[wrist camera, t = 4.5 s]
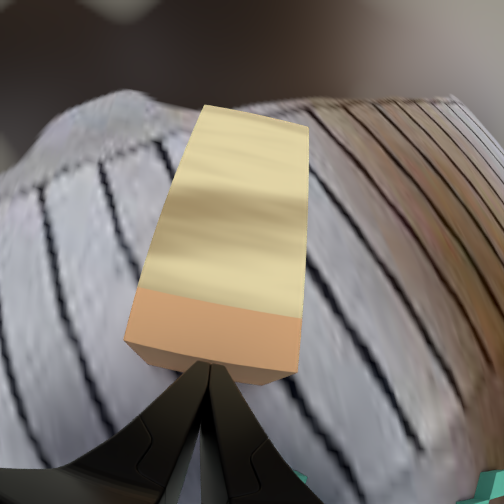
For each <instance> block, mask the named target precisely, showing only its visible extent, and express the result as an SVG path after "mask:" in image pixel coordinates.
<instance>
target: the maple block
mask: <svg viewBox="0 0 504 504" xmlns="http://www.w3.org/2000/svg"><path fill="white" fill-rule="evenodd" d="M308 174H309V127H306V126H302V125H299V124H295V123H291V122H287V121H283V120H278V119H274V118H270V117H266V116H261V115H256V114H252V113H247V112H242V111H237V110H232V109H226V108H221V107H215V106H209V105H204V107H203V109H202V111H201V114H200V116H199V118H198V120H197V123H196V125H195V127H194V130H193V132H192V134H191V137H190V139H189V142H188V144H187V146H186V149H185V151H184V154H183V156H182V159H181V161H180V164H179V166H178V169H177V171H176V174H175V177H174V179H173V182H172V184H171V187H170V190H169V193H168V195H167V198H166V201H165V204H164V206H163V209H162V212H161V215H160V218H159V221H158V223H157V226H156V229H155V232H154V235H153V238H152V241H151V244H150V248H149V251H148V254H147V257H146V260H145V263H144V267H143V270H142V273H141V277H140V280H139V283H138V287H137V290H136V294H135V298H134V301H133V305H132V308H131V312H130V316H129V320H128V324H127V328H126V332H125V336H124V341H125V342H126V343H127V344H128V345H129V346H130V347H131V348H132V349H133V350H134V351H135V352H136V353H137V354H138V355H139V356H140V357H141V358H142V359H143V360H144V361H145V362H146V363H147V364H149V365H153V366H157V367H161V368H166V369H170V370H175V371H179V372H185V371H186V370H187V369H188V368H189V367H190V366H191V365H193V364H194V363H195V362H196V361H197V360H200V361H205V362H209V363H210V365H211V364H212V363H216V364H221V365H224V366H225V367H226V368H227V370H228V372H229V374H230V375H231V377H232V379H233V381H234V382H240V383H247V384H254V385H261V386H262V385H265V384H268V383H271V382H273V381H276V380H279V379H282V378H284V377H287V376H290V375H292V374H295V373H297V372H298V361H299V350H300V338H301V326H302V312H303V298H304V282H305V264H306V243H307V216H308Z"/></svg>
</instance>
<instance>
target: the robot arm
mask: <svg viewBox="0 0 504 504" xmlns="http://www.w3.org/2000/svg"><path fill="white" fill-rule="evenodd" d="M200 424H201V426H200ZM199 429H200V474H201V504H324V503H323V502H322V501H321V500H320V499H319V498H318V497H317V496H316V495H315V494H314V493H313V492H312V491H311V490H310V489H309V488H308V486H307V485H306V484H305V483H304V482H303V481H302V480H301V479H300V478H299V477H298V476H297V475H296V474H295V472H294V471H293V470H292V469H291V468H290V467H289V465H288V464H287V463H286V462H285V461H284V459H283V458H282V457H281V455H280V454H279V452H278V451H277V450H276V448H275V447H274V445H273V444H272V442H271V440H270V439H268V436H267V434H266V433H265V431H264V430H263V428H262V427H261V425H260V423H259V422H258V420H257V419H256V417H255V415H254V414H253V412H252V411H251V409H250V407H249V406H248V404H247V402H246V401H245V399H244V397H243V396H242V394H241V392H240V391H239V389H238V387H237V386H236V384H235V382H234V381H233V379H232V377H231V375H230V374H229V372H228V370H227V368H226V367H225V366H224V365H221V364H216V363H212V364H211V365H210V363H209V362H205V361H200V360H197V361H196V362H195V363H194V364H193V365H191V366H190V367H189V368H188V369H187V370H186V371H185V372H184V373H183V374H182V375H181V376H180V377H179V378H178V379H177V380H176V381H175V382H174V383H173V384H171V385H170V386H169V387H168V388H167V389H166V390H165V391H164V392H163V393H162V394H161V395H160V396H159V397H158V398H156V399H155V400H154V401H153V402H152V403H151V404H150V405H149V406H148V407H147V408H146V409H145V410H143V411H142V412H141V413H140V414H139V416H137V417H136V418H135V419H133V420H132V421H131V422H130V423H129V424H128V425H127V426H125V427H124V428H123V429H122V430H121V431H119V432H118V433H117V434H115V435H114V436H112V437H111V438H109V439H108V440H106V441H105V442H103V443H102V444H100V445H99V446H97V447H95V448H94V449H92V450H91V451H89V452H87V453H86V454H84V455H83V456H81V457H79V458H78V459H76V460H74V461H73V462H71V463H69V464H67V465H64V466H61V467H58V468H53V469H12V468H0V504H177V503H178V499H179V496H180V493H181V490H182V486H183V483H184V480H185V476H186V473H187V470H188V467H189V463H190V460H191V457H192V453H193V450H194V447H195V443H196V440H197V437H198V433H199Z"/></svg>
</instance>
